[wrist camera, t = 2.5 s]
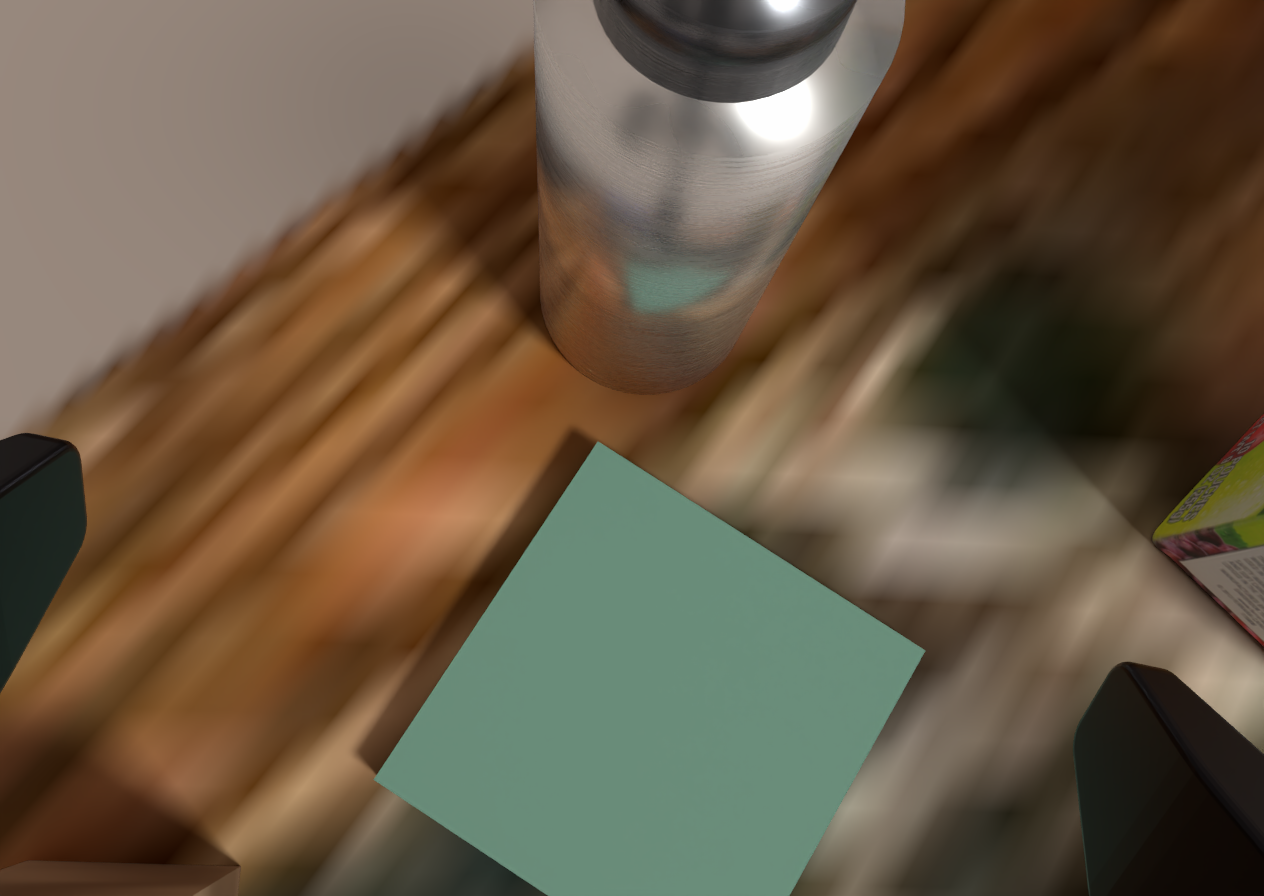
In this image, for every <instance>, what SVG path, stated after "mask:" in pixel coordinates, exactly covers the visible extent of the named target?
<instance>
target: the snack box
mask: <svg viewBox="0 0 1264 896" xmlns="http://www.w3.org/2000/svg"><path fill="white" fill-rule="evenodd" d="M1152 537H1153V543H1154V544H1155V545H1156V547H1157V548H1159V549H1160V550H1161V551H1163V552H1164V553H1165V554H1167V555H1168V556H1169V557H1171V558H1172V559H1173V560H1174V561H1175V562H1176V563H1177V564H1178V565H1179V566H1180V567H1181V568H1182V569H1183V570H1184V571H1185V572H1186V573H1187V574H1188V575H1189V576H1190V577H1191V578H1192V579H1194V580H1195V581H1196V582H1197V583H1198V584H1199V585H1200V586H1201V588H1202V589H1204V590H1205V591H1206V592H1207V593H1208V594H1209V595H1210V596H1211V597H1213V598H1214V599H1215V600H1216V601H1217V602H1218V603H1219V604H1220V605H1221V606H1222V607H1223V608H1224V609H1225V610H1226V611H1227V612H1228V613H1229V614H1230V615H1231V616H1232V617H1233V618H1234V619H1235V620H1236V621H1237V622H1238V623H1239V624H1241V625H1242V626H1243V627H1244V628H1245V629H1246V630H1247V631H1248V632H1249V633H1250V634H1251V635H1252V636H1253V637H1254V638H1255V639H1256V640H1257V641H1258V642H1259V643H1261V644H1262V645H1263V646H1264V414H1263V415H1262V416H1261V417H1260V418H1259V419H1258V420H1257V421H1256V422H1255V423H1254V424H1253V425H1252V426H1251V428H1250V429H1249V430H1248V431H1247V432H1246V433H1245V434H1244V435H1243V436H1242V437H1241V438H1240V439H1239V441H1238V442H1237V443H1236V444H1235V445H1234V446H1233V447H1232V448H1231V449H1230V450H1229V451H1228V452H1227V454H1226V455H1225V456H1224V457H1223V458H1222V459H1221V460H1220V461H1219V462H1218V463H1217V464H1216V465H1215V466H1214V467H1213V468H1212V469H1211V470H1210V471H1209V472H1208V473H1207V474H1206V475H1205V476H1204V477H1203V479H1202V480H1201V481H1200V482H1199V483H1198V484H1197V485H1196V486H1195V487H1194V488H1193V489H1192V490H1191V491H1190V492H1189V493H1188V495H1187V496H1186V497H1185V498H1184V499H1183V500H1182V501H1181V502H1180V503H1179V504H1178V505H1177V506H1176V508H1175V509H1174V510H1173V511H1172V512H1171V513H1170V514H1169V515H1168V517H1167V518H1166V519H1165V520H1164V521H1163V522H1162V523H1161V524H1160V526H1159V527H1158V528H1157V529H1156V530H1155V532H1154V534H1153V536H1152Z"/></svg>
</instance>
